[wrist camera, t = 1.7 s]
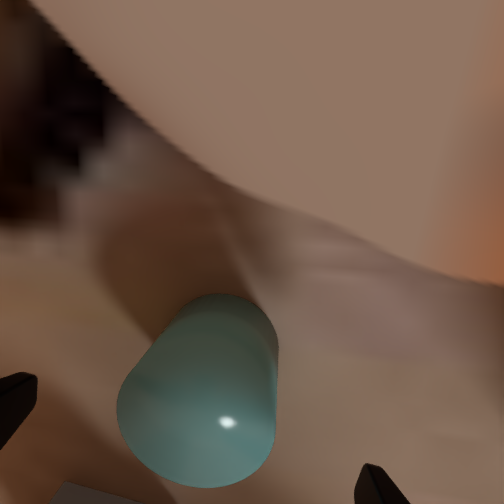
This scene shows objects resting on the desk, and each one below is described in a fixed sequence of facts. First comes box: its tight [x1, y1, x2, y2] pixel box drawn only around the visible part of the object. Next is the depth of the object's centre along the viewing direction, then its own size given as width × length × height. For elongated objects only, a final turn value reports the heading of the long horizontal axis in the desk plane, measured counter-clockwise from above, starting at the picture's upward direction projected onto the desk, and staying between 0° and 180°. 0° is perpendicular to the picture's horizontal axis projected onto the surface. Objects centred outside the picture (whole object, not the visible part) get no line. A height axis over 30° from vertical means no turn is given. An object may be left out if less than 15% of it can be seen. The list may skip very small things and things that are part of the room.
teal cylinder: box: [117, 294, 279, 488], centre depth 10 cm, size 4×4×4 cm
